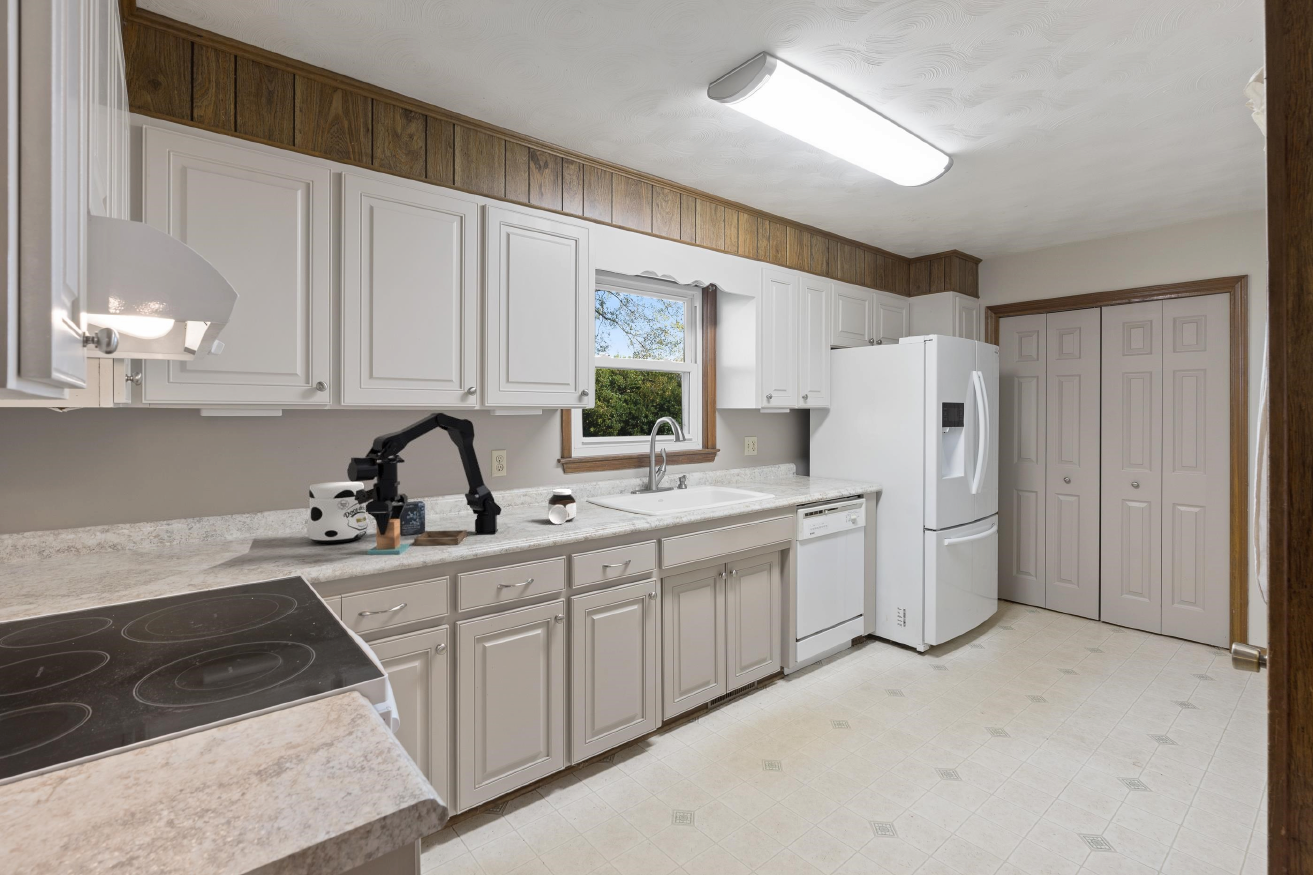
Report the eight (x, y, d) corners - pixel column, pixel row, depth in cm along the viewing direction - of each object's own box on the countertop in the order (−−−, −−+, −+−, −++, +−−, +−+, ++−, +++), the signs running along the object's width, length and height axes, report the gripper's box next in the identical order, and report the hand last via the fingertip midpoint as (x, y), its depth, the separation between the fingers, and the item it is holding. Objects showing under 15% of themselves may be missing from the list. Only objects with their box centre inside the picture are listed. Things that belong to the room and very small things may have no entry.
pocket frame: (467, 536, 202) (466, 530, 202) (458, 544, 189) (458, 538, 189) (426, 537, 201) (426, 530, 201) (414, 545, 188) (414, 539, 188)
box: (401, 536, 202) (400, 504, 202) (397, 533, 207) (397, 502, 206) (425, 533, 207) (425, 502, 206) (421, 531, 211) (421, 500, 211)
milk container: (370, 542, 193) (369, 485, 192) (306, 548, 184) (305, 488, 183) (366, 533, 208) (365, 480, 207) (307, 538, 199) (305, 483, 198)
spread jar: (570, 518, 236) (570, 488, 236) (582, 522, 227) (582, 491, 226) (540, 521, 230) (540, 490, 230) (552, 526, 220) (551, 493, 220)
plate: (409, 547, 186) (409, 543, 186) (399, 554, 177) (399, 550, 177) (378, 547, 185) (378, 544, 185) (367, 554, 176) (367, 551, 176)
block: (400, 545, 184) (399, 518, 183) (394, 549, 179) (394, 521, 178) (382, 545, 183) (382, 519, 183) (376, 549, 178) (376, 522, 178)
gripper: (370, 475, 189) (371, 526, 189) (345, 482, 170) (346, 538, 171) (407, 475, 190) (408, 525, 190) (387, 482, 171) (388, 537, 172)
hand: (388, 531), depth 181 cm, fingers open, 9 cm apart
